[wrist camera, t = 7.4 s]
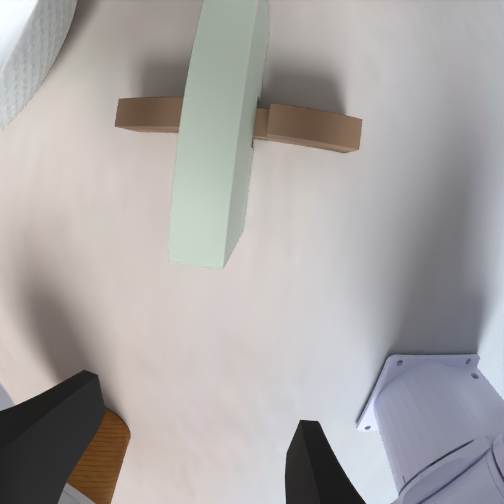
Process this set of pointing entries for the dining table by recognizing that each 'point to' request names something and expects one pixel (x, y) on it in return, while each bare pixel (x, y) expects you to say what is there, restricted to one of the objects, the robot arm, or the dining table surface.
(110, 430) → the disposable coffee cup
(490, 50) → the dining table surface
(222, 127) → the sage slot plate
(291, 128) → the walnut slot board
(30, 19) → the cereal bowl
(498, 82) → the dining table surface
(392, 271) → the dining table surface
